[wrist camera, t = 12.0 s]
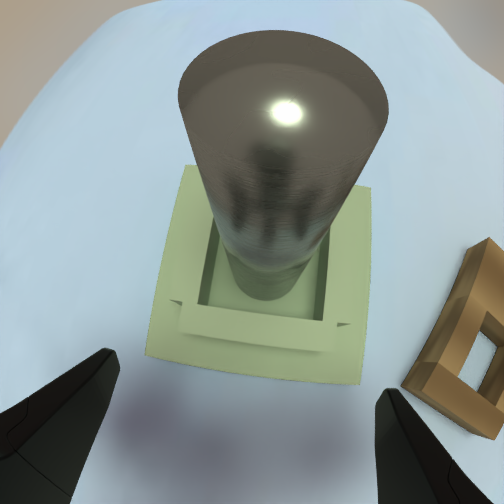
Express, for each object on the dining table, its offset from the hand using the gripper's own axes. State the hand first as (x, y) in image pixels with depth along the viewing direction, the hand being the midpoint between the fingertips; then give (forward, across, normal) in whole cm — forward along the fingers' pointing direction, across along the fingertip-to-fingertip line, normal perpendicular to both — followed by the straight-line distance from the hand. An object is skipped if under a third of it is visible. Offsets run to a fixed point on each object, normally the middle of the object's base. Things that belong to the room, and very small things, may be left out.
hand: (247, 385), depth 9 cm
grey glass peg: (+10, 0, +2) cm, 10 cm away
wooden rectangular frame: (+9, -17, +5) cm, 20 cm away
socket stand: (+11, 0, +2) cm, 11 cm away
